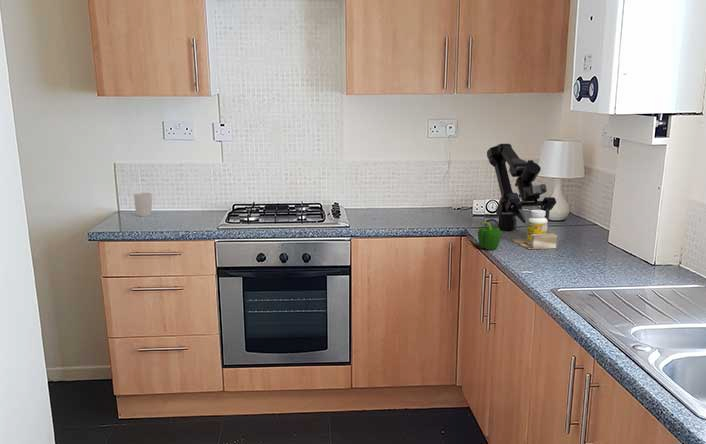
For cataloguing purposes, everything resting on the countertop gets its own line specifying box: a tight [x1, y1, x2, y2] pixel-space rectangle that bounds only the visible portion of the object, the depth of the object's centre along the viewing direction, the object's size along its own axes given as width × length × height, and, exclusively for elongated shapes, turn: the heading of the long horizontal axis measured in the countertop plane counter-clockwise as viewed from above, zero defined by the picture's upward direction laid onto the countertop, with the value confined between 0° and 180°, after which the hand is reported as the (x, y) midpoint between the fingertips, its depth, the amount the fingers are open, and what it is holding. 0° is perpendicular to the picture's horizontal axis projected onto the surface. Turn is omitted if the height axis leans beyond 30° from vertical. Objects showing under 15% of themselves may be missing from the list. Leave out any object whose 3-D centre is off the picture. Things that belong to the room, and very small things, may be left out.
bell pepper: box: [477, 221, 502, 251], centre depth 227 cm, size 8×8×10 cm
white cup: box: [133, 192, 153, 217], centre depth 286 cm, size 8×8×10 cm
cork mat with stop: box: [511, 233, 558, 250], centre depth 234 cm, size 16×12×5 cm
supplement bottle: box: [526, 209, 549, 245], centre depth 232 cm, size 7×7×13 cm
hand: (536, 222), depth 233 cm, fingers open, 9 cm apart
